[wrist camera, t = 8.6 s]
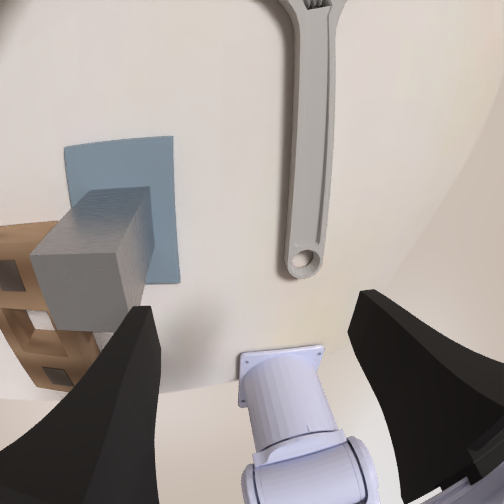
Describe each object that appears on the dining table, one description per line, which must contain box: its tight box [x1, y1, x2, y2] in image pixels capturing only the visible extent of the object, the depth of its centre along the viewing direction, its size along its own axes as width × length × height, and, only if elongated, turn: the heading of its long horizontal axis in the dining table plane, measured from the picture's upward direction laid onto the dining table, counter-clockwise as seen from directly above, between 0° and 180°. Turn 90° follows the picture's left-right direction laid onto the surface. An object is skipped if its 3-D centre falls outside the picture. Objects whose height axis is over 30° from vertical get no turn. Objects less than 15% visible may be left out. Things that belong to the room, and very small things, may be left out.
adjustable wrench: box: [278, 0, 347, 279], centre depth 15 cm, size 25×6×2 cm, turn 176°
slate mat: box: [64, 136, 180, 284], centre depth 17 cm, size 10×7×1 cm
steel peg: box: [29, 186, 155, 332], centre depth 14 cm, size 4×4×8 cm
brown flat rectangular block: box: [0, 221, 100, 392], centre depth 19 cm, size 16×8×3 cm, turn 177°
